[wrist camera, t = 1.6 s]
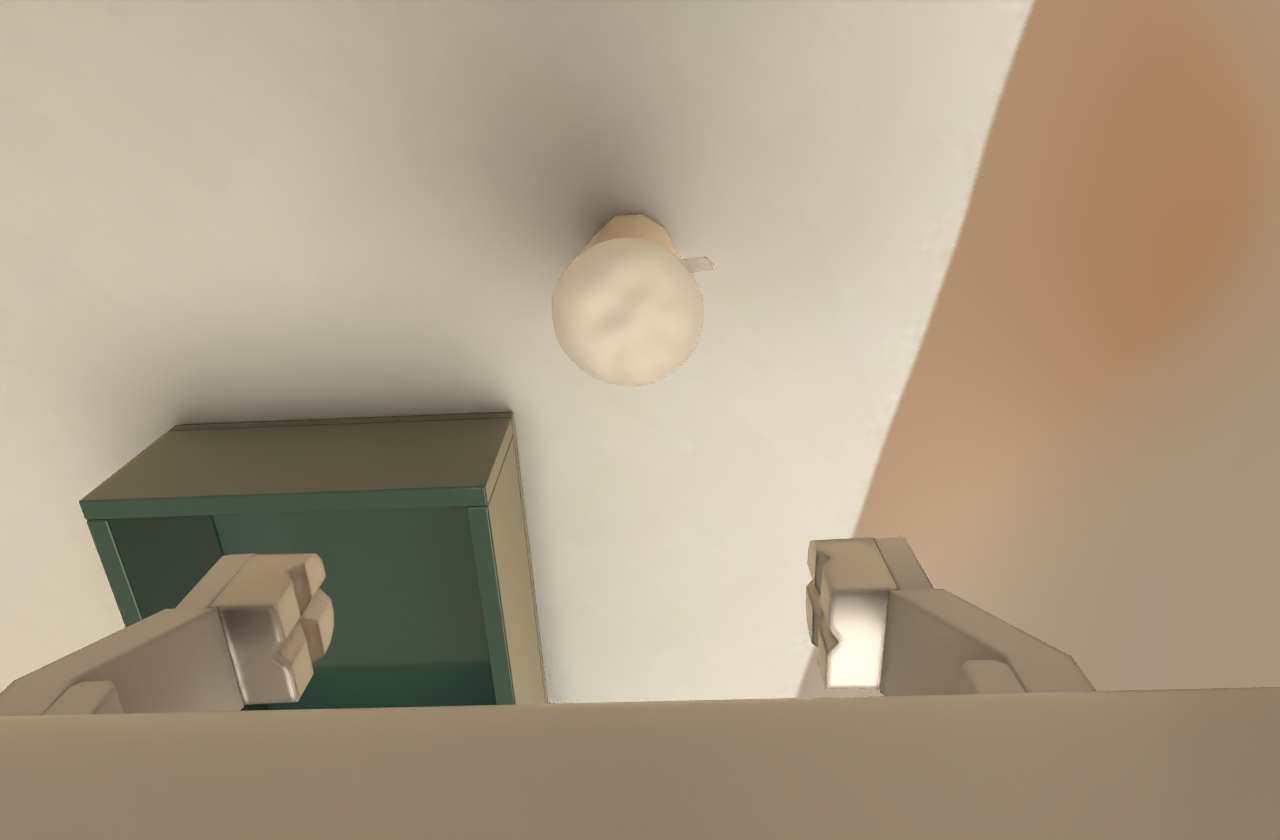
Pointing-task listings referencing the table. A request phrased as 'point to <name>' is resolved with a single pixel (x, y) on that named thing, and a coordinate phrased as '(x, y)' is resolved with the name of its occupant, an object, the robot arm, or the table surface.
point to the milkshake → (629, 304)
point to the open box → (348, 546)
